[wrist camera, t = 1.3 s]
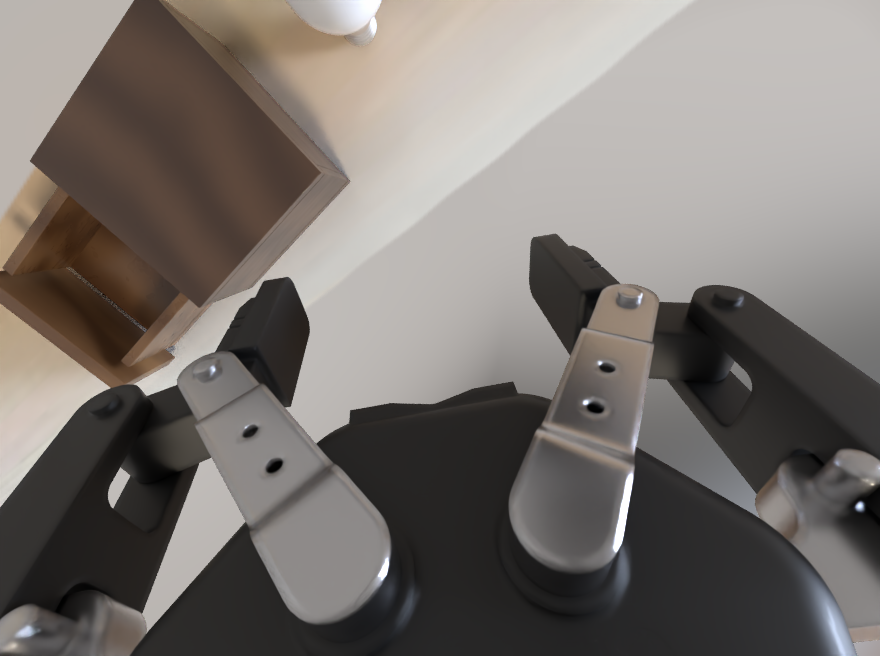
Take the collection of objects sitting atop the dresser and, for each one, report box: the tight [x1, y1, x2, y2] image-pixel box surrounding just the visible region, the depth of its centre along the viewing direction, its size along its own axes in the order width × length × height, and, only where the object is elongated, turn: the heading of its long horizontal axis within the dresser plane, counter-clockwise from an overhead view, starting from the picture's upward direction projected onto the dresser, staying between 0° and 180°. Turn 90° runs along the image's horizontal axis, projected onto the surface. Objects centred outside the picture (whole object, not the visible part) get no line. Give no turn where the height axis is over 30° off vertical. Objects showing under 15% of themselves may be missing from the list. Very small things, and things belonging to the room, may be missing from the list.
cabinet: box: [30, 0, 350, 308], centre depth 27 cm, size 14×14×8 cm
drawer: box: [0, 187, 212, 388], centre depth 30 cm, size 14×12×6 cm
